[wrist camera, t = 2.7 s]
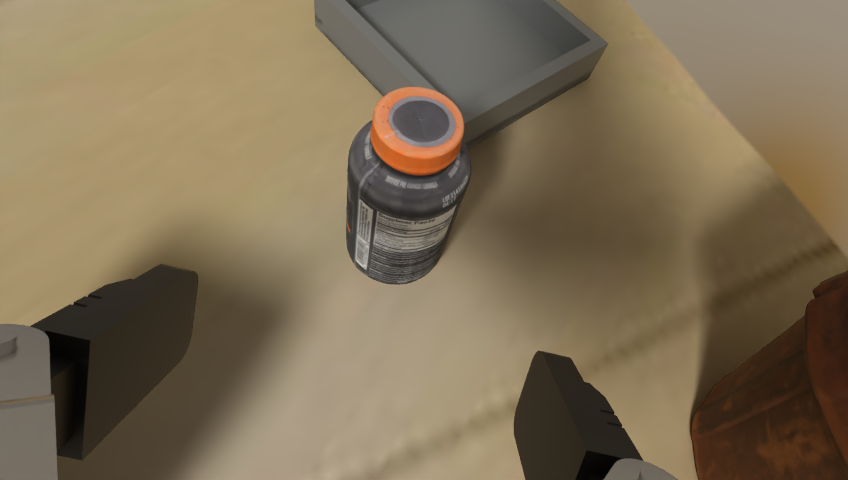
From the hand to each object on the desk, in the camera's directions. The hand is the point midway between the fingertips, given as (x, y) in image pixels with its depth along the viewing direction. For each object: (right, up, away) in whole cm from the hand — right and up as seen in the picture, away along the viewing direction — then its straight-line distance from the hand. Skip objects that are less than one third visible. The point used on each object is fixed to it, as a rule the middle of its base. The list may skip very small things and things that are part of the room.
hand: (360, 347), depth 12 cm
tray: (+4, +18, +29) cm, 34 cm away
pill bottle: (0, +2, +19) cm, 20 cm away
